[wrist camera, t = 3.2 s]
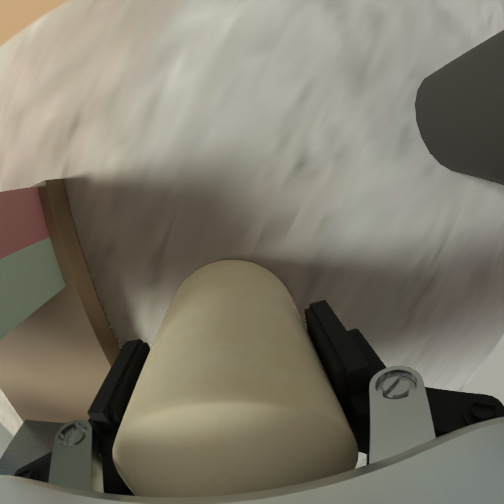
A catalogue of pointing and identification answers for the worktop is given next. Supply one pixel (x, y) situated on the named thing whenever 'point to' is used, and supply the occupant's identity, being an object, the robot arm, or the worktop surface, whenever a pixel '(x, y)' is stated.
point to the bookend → (29, 445)
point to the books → (24, 258)
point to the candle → (231, 394)
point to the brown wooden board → (59, 333)
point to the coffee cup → (466, 112)
